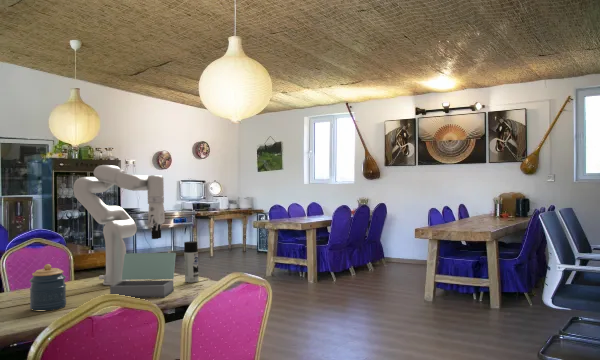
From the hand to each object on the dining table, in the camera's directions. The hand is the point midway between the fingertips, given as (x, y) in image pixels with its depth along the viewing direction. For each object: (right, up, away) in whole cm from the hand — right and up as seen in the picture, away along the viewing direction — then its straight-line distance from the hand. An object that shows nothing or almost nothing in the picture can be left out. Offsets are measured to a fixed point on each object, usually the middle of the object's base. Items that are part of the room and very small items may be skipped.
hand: (156, 238), depth 227 cm
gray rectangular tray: (-1, -23, -18) cm, 29 cm away
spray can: (+15, -23, +9) cm, 29 cm away
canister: (-32, -24, -39) cm, 55 cm away
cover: (0, -12, -11) cm, 16 cm away
